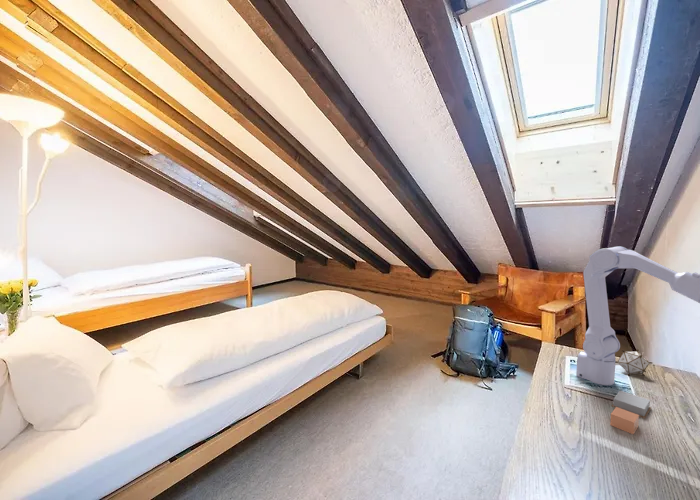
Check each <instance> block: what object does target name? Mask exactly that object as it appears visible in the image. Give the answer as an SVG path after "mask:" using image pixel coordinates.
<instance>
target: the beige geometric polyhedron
mask: <svg viewBox="0 0 700 500" xmlns="http://www.w3.org/2000/svg"><path fill="white" fill-rule="evenodd" d="M621 352H622V353H621V356H620V357H619V358H618V360H615V364H618V365H620V366H621V368H622V369H624V371H626V373H627V376H628V377H629V376H631V375H637V374H638V375H639V374H640V375H642V376H645V375H646V374H645V373H647V371H646V370H647V369H648V367H649V365H650V364H651V365H652V364H653V362H652V361H649V360H647V358H645V357H644V356H643V355H642V354H641V353H640V352H639V348H638V349H636V350H635V351H633V350H632V351H628V350H627V351H625V350H624V349H621Z"/></svg>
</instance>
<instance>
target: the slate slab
mask: <svg viewBox="0 0 700 500" xmlns="http://www.w3.org/2000/svg"><path fill="white" fill-rule="evenodd" d="M612 404H613V406H616V407H619V408H622V409H624V410H627V411H630V412H633V413H636V414H638V415H641V416H645V414H646V412H647V411H648V409H649V407H651V406H650V404H651V400H650V399H647V398H644V397H641V396H638V395H635V394H632V393H629V392H625V391H623V390H619V391H618V392H617V394H616V395H615V396H614V398H613V403H612Z"/></svg>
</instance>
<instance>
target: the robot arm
mask: <svg viewBox="0 0 700 500" xmlns="http://www.w3.org/2000/svg"><path fill="white" fill-rule="evenodd" d="M617 269H636V270H638V271H641V272H642V273H645V274H647V275H649V276H652V277H654V278H656V279H659V280H661V281H663V282H665V283H667V284H669V286H670V288H671V290H672V291H674V292H676V293H677V294H680V295H682V296H684V297H686V298H688V299H690V300H693V301H694V302H696V303H699V304H700V273H698V272H692V273H691V272H690V271H683V272H677V271H675V270H673V269H671V268H669V267H667V266H665V265H663V264H660V263H659V262H657V261H656V260H655V261H654V260H653V259H650V258H649V257H647V256H644V255H642V254H640V253H639V252H637V251H635V250H633V249H628V248H626V247H625V246H620V245H619V246H612V247H608V248H607V247H605V248H600V249H597V250H595V251H594V252H593V253H592V254H591V255H589V259H588V262H587V264H586V266H585V268H584V269H583V273H582V274H583V281H584V282H583V283H584V290H585V300H586V301H585V302H586V309H587V319H588V328H587V330H586V331H585V334H584V336H585V337H584V341H583V343H582V349H583V351H580V352H578V355H577V359H576V373H575V374H576V377H579V378H582V379H585V380H587V381H589V382H592V383H594V384H598V385H601V386H602V385H603V386H612V385H614V384H615V378H616V377H615V376H616V375H615V374H616V363H615V361H616V358H617V357H616V353H617V352H618V351H619V350H620V348H621V343H620V340H619V339H618V337H617V336H616V331H615V330H614V329H613V328H612V327H611V320H610V310H609V301H608V293H607V283H606V277H607V276H608V275H610V274H611V273H613V272H614V271H615V270H617Z"/></svg>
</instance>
